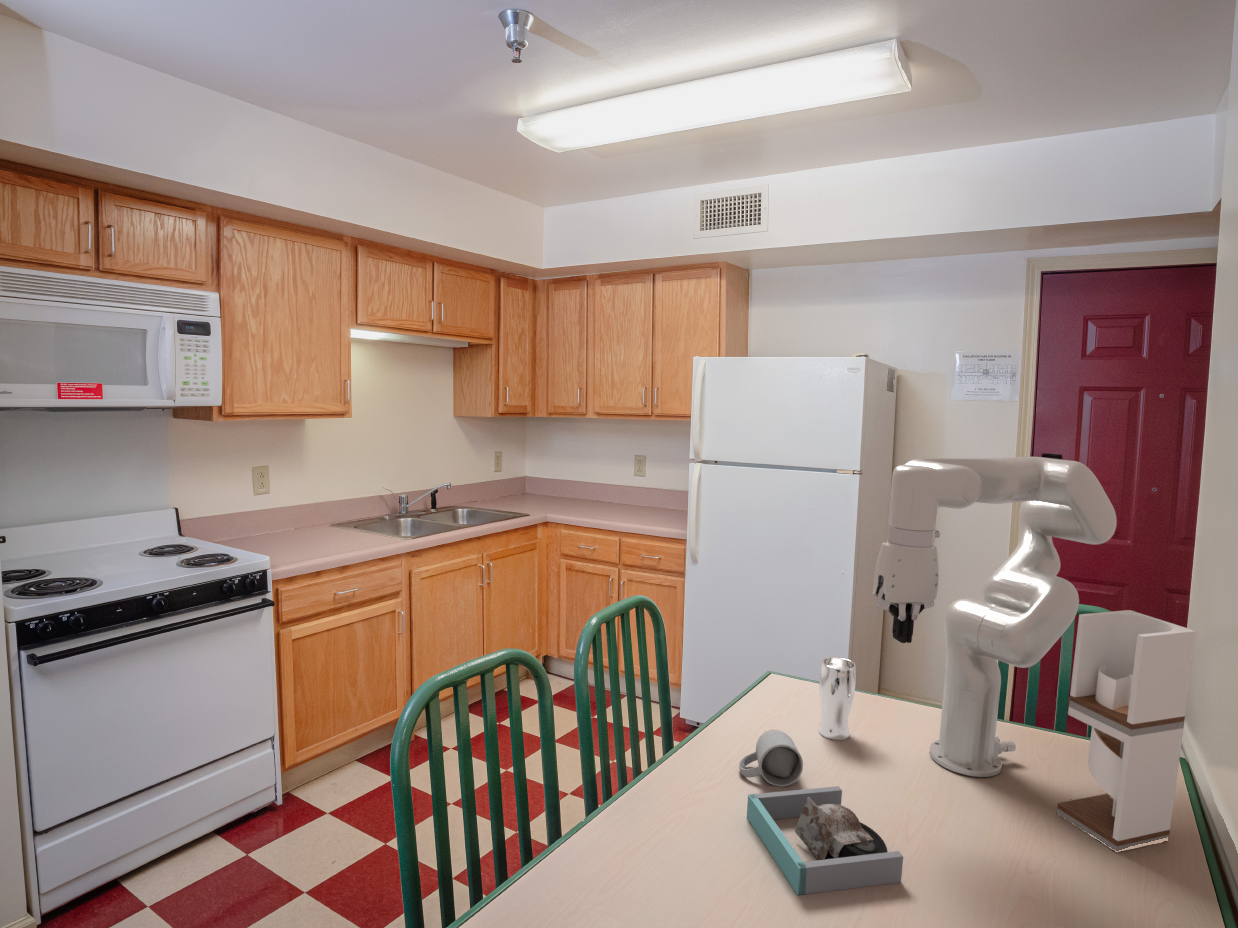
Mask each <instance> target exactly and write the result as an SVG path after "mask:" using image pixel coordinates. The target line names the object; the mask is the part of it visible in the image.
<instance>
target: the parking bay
mask: <svg viewBox="0 0 1238 928" xmlns="http://www.w3.org/2000/svg"><path fill="white" fill-rule="evenodd" d="M842 795H843V790H842V788H841V787H840V786H839V785H837V786H828V787H827V786H826V787H816V788H815V787H814V788H806V789H794V790H784V791H783V790H782V791H772V792H761V793H751V794H747V803H746V804H747V809H746V819H747V821H748V822H749V823H750V825H751V826H752V828H753V829H754V831H755V833H756V834H757V836H758V837H759V839H760V841H761V842H762V843H763V844H764V846H765V848H766V850H767V851H768V852H769V854H770V855H771V858H773V860H774V862H775V863H776V865H777V866H778V868H779V869H780V871H781V873H782V875H783V876H784V877H785V879H786V880H787V882H788V883H789V885H790V886H791V888H792V890H793V891H794V892H795V894H796V895H797V896H802V895H808V894H809V895H810V894H818V893H819V894H820V893H827V892H833V891H841V890H851V889H857V888H865V887H866V888H867V887H874V886H880V885H881V886H882V885H889V884H897V883H901V882H902V878H903V877H902V875H903V866H904V865H903V862H904V855H903V854H902V853H901V852H900V851H899V850H896V851H895V850H894V851H887V852H886V853H877V854H868V855H860V856H851V857H843V858H834V857H833V858H827V859H826V858H825V860H818V859H816V860H810V861H804V860H802V859H801V857H800V856H799V854H798V853H797V852H796V850H795V848H794V846H793V845H792V844H791V843H790V842H789V840H788V839H787V837H786V836H785V834H784V832H783V831H782V830H781V829H780V827H779V826H778V824H777V823H776V821H775V820H781V819H783V820H784V819H791V818H792V819H793V818H800V816H801V813H802V811H803V808H804V806H805V803H806V801H807V798H808V797H810V798H811V799H812V801H813V802H814V803H815V804H816V805H824V804H837V805H841V806H842V797H843V796H842Z"/></svg>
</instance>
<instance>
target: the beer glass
mask: <svg viewBox="0 0 1238 928" xmlns="http://www.w3.org/2000/svg"><path fill="white" fill-rule="evenodd" d="M856 667H857V666H856V663H855V662H854V661H852V660H850V659H848V658H844V657H837V656H829V657H824V658H823V659H822V661H821V667H820V673H819V696H820V697H819V699H820V706H821V707H820V708H821V717H820V721H819V722H820V723H819V726H818V733H819V734H820V735H821V736H822V737H824V738H826V739H829V740H834V741H843V740H847V739H848V738H849V737H850V728H849V717H850V711H851V707H852V705H853V700H854V697H855V691H856V679H857V677H856V674H857V673H856Z"/></svg>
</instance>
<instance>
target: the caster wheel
mask: <svg viewBox="0 0 1238 928" xmlns="http://www.w3.org/2000/svg"><path fill="white" fill-rule="evenodd" d="M798 818H799V819H798V821H797V824H796V827H795V830H794V832H795V834H796V835H797V836H798V838H799V839H800V840H801V841H802V843H803V844H804V845H805V846H806V847H807V849H808V850H809V851H810V852H811V853H812V854H813V855H814V858H816V860H825V859H826V857H827V855H828V854H829V855H830V856H832V857H833V859H834V858H843V857H851V856H860V855H868V854H877V853H886V852H888V848H887V845H886V843H885V841H884V840H883V838H882V837H881V835H880V834H878V833H877V832H876V831H875V830H874V829H873V828H871V827H870V826H868V825H866V824H864V823H863V822H862V821H861V822H860V820H859V818H858V817H857V815H856V813H855V812H854V811H853V810H851V809H850V808H848V807H846V806H844V805H842V804H841V805H837V804H824V805H816V804H815V803H814V802H813V801H812V799H811V798H810V797H808V798H807V801H806V803H805V806H804V808H803V811H802V813H801V816H800V817H798Z"/></svg>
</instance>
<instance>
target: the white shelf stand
mask: <svg viewBox="0 0 1238 928" xmlns="http://www.w3.org/2000/svg"><path fill="white" fill-rule="evenodd" d="M1077 623H1078V624H1077V630H1076V632H1077V633H1076V640H1075V647H1074V648H1075V649H1074V650H1075V651H1074V658H1073V667H1072V675H1071V676H1072V677H1071V682H1070V683H1071V684H1070V695H1069V703H1068V709H1067V710H1068V711H1067V715H1068V716H1070V717H1072V718H1074V719H1076V720H1078V721H1079V722H1082V723H1084V724H1086V725H1088V726H1091V732H1090V741H1089V749H1088V750H1089V751H1088V757H1087V766H1088V769H1089V772H1090V774H1091V776H1092V778H1093V779H1094V781H1095V782H1096V783H1097V784H1098V785H1099V787H1100V788H1101V789H1102V790H1103V791H1105V793H1103V794H1097V795H1093V796H1087V797H1082V798H1076V799H1072V800H1068V801H1062V802H1058V803H1057V806H1056V807H1057V809H1056V815H1057V814H1059V815H1060V816H1061V817H1063V818H1065V819H1066V820H1068V821H1069V822H1071V823H1073V824H1074V825H1076V826H1077V827H1079V828H1081V829H1082V830H1084V831H1086V832H1087V833H1089V834H1091V835H1093V836H1094V837H1096V838H1097V839H1099V840H1100V841H1102V842H1103V843H1105V844H1106V845H1107V846H1109V847H1111V848H1112V849H1114V850H1116V851H1119V850H1122V849H1125V848H1128V847H1130V846H1135V845H1138V844H1143V843H1148V842H1151V841H1155V840H1159V839H1163V838H1167V837H1169V838H1170V832H1171V825H1172V817H1173V811H1174V809H1173V808H1174V804H1175V795H1176V789H1177V787H1176V786H1177V781H1178V780H1177V779H1178V778H1177V777H1178V773H1179V764H1180V759H1181V758H1180V757H1181V749H1182V742H1183V735H1184V728H1185V727H1184V726H1185V720H1186V711H1187V705H1188V696H1189V690H1190V689H1189V688H1190V682H1191V675H1192V667H1193V659H1194V652H1195V645H1196V637H1197V630H1194V629H1190V628H1188V627H1185V626H1181V625H1178V624H1175V623H1171V622H1169V621H1165V620H1162V619H1159V618H1157V617H1156V618H1155V617H1153V616H1150V615H1146V614H1143V613H1141V612H1137V611H1136V610H1131V609H1129V610H1128V609H1126V610H1125V609H1123V610H1115V611H1114V610H1113V611H1103V612H1094V613H1093V612H1091V613H1081V614H1080V613H1079V615H1078V622H1077ZM1060 816H1059V817H1060ZM1061 817H1060V818H1061ZM1063 818H1062V819H1063ZM1066 820H1065V821H1066ZM1069 822H1068V823H1069ZM1071 823H1070V824H1071ZM1074 825H1073V826H1074ZM1077 827H1076V828H1077Z"/></svg>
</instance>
